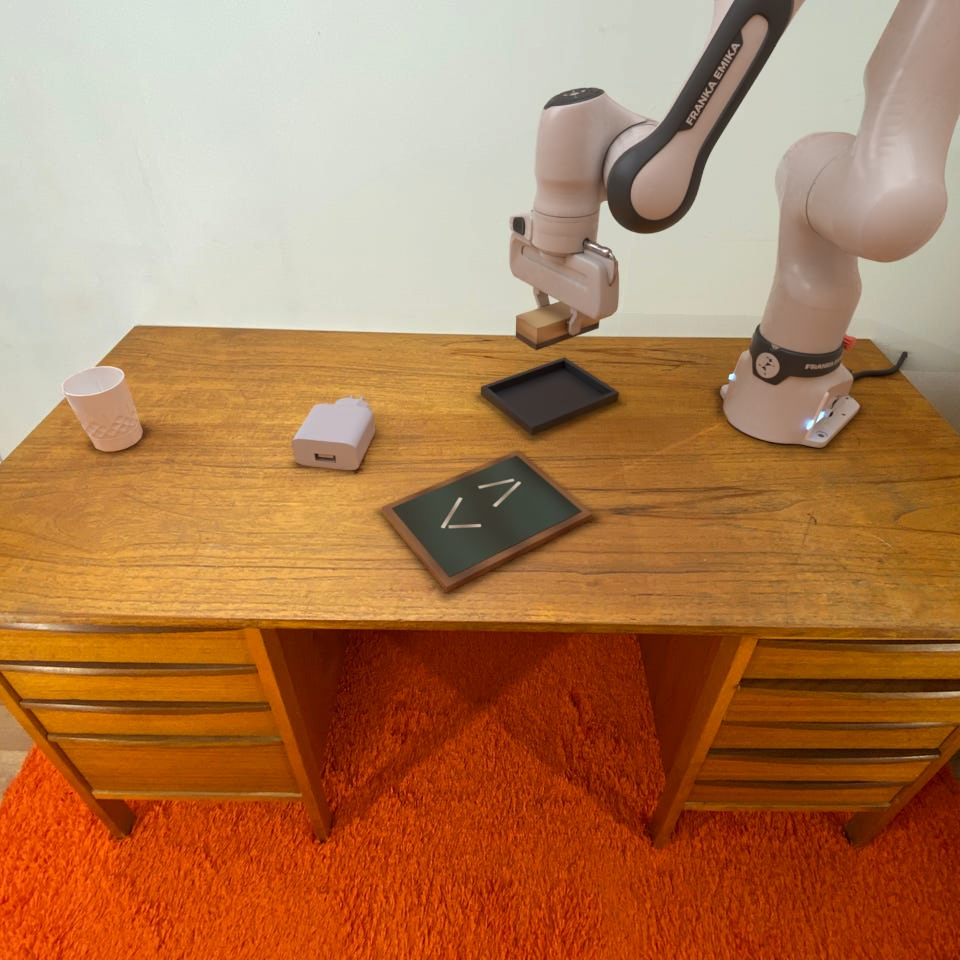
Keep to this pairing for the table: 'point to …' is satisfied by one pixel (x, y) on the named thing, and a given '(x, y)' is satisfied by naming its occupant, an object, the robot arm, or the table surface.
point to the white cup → (104, 407)
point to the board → (484, 518)
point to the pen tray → (548, 395)
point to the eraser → (549, 325)
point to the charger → (335, 435)
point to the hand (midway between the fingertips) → (557, 324)
